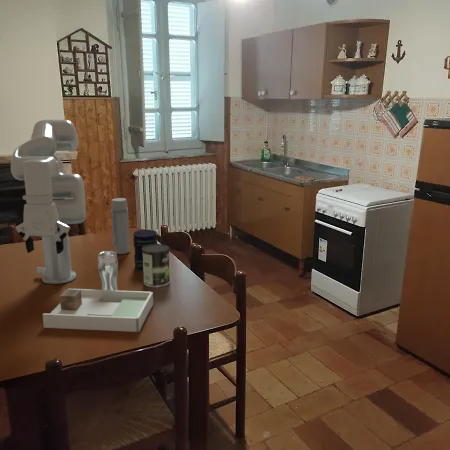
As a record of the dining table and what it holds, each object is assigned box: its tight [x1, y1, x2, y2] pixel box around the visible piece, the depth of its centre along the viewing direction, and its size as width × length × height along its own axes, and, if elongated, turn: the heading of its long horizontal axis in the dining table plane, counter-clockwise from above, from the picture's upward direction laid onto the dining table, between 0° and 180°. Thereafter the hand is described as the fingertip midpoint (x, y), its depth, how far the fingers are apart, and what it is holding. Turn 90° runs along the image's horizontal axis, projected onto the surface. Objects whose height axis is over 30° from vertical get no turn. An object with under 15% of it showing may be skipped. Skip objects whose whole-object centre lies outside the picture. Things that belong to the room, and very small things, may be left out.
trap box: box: [42, 287, 155, 333], centre depth 146 cm, size 30×20×4 cm, turn 86°
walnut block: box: [59, 288, 82, 311], centre depth 146 cm, size 5×5×5 cm
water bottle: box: [110, 197, 131, 255], centre depth 202 cm, size 9×8×25 cm
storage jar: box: [132, 229, 159, 272], centre depth 187 cm, size 10×10×15 cm
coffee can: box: [142, 243, 171, 288], centre depth 171 cm, size 10×10×14 cm
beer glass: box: [97, 250, 119, 290], centre depth 161 cm, size 7×7×15 cm
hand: (45, 251), depth 142 cm, fingers open, 9 cm apart
